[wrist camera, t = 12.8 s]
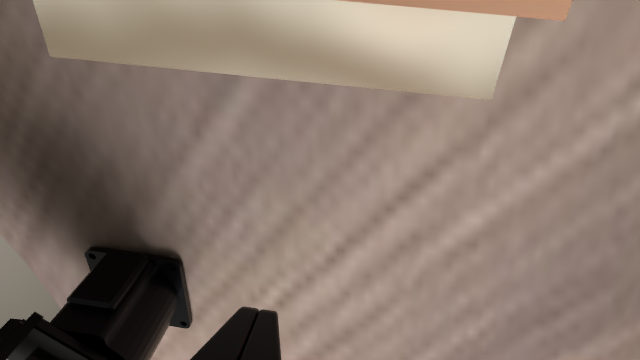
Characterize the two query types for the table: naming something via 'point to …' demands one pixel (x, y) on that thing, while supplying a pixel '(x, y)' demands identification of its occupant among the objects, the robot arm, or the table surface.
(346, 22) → the post board
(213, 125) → the table surface
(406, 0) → the peach rectangular block
